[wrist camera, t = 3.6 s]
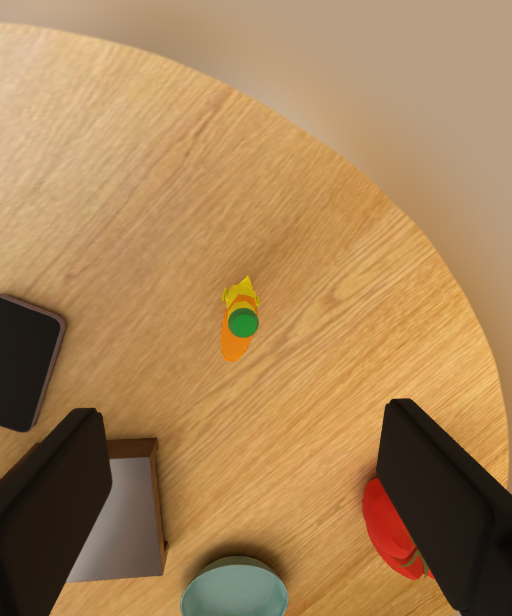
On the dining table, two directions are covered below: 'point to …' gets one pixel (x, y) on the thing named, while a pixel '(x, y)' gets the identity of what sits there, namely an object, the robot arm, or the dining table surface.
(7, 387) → the smartphone
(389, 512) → the tomato
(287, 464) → the dining table surface
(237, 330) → the toy figure
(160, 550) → the shelf
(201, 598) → the saucer
